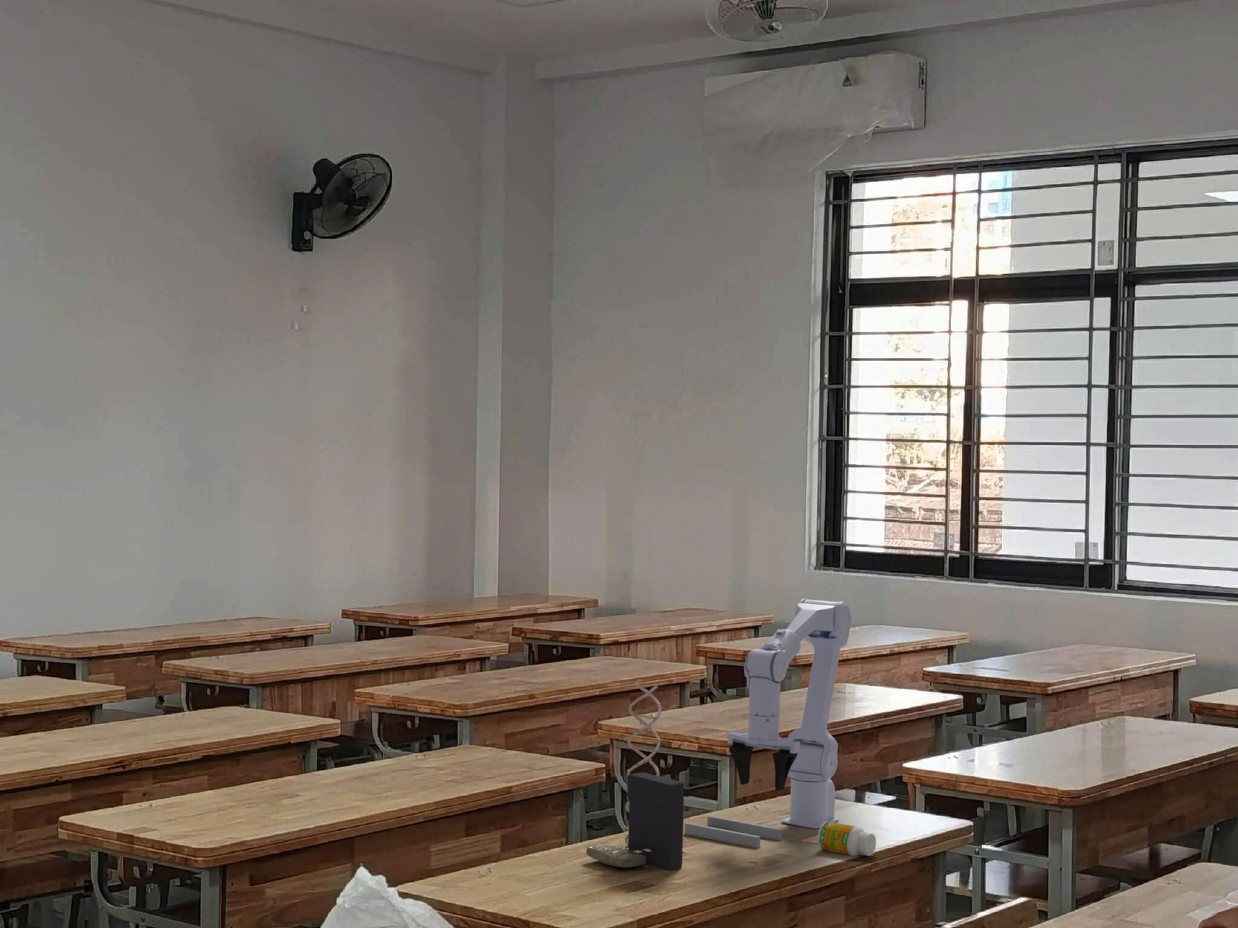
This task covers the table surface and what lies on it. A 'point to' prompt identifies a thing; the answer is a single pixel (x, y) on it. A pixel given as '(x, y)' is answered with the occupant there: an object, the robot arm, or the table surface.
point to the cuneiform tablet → (617, 855)
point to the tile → (811, 840)
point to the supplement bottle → (845, 839)
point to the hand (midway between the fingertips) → (762, 786)
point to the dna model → (647, 726)
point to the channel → (733, 831)
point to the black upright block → (656, 819)
